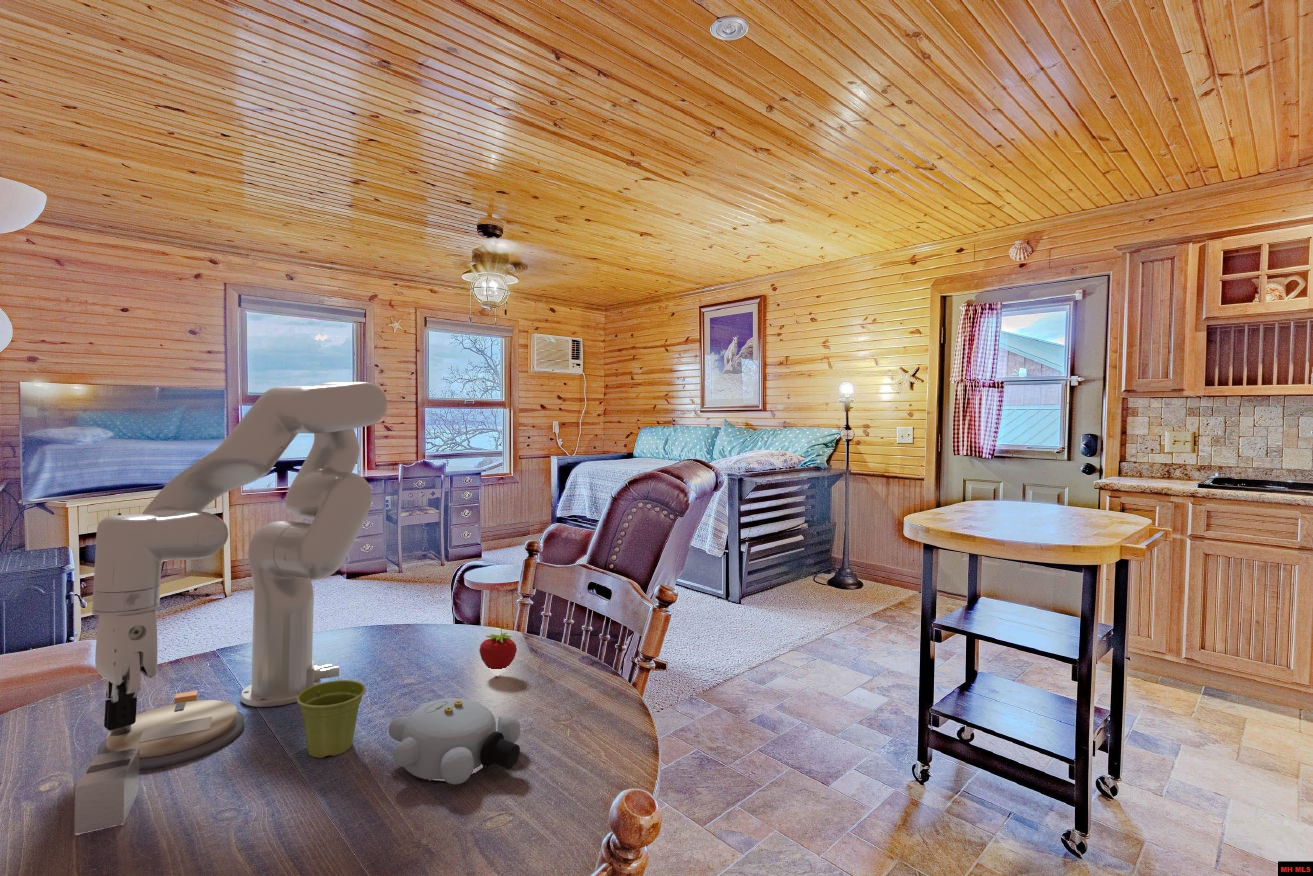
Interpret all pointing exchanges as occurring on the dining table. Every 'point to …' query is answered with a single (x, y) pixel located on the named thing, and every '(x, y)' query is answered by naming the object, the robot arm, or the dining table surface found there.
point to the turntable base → (190, 753)
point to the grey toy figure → (454, 740)
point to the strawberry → (498, 651)
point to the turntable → (174, 728)
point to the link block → (107, 790)
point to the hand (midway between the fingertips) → (119, 725)
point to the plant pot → (330, 716)
